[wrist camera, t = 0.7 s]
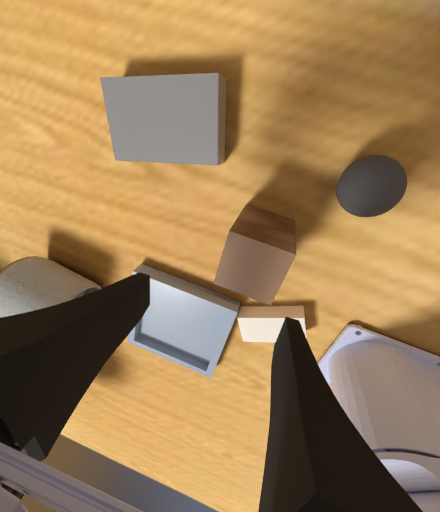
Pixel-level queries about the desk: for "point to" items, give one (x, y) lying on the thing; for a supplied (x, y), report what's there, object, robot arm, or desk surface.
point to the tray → (184, 322)
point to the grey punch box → (167, 117)
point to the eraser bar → (267, 321)
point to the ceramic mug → (39, 285)
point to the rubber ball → (371, 186)
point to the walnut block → (257, 254)
